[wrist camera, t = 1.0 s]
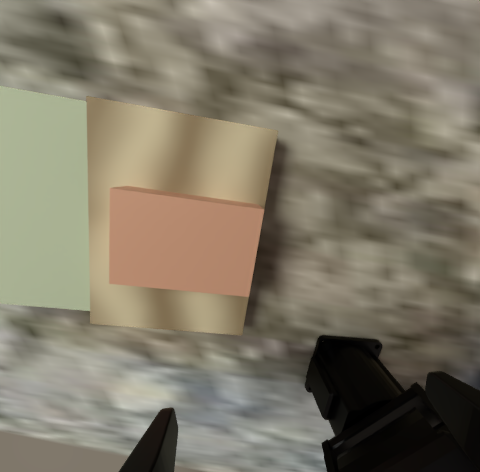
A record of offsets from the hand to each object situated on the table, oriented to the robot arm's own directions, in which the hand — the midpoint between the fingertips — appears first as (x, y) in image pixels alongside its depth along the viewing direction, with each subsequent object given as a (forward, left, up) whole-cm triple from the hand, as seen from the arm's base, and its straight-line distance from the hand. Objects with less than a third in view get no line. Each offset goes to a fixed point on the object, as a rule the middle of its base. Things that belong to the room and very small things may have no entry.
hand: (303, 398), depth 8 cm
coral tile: (+5, -2, -10) cm, 12 cm away
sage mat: (+18, -2, -12) cm, 22 cm away
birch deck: (+6, -2, -12) cm, 14 cm away
